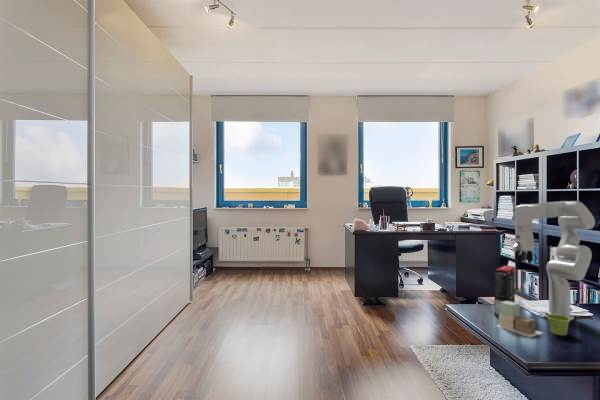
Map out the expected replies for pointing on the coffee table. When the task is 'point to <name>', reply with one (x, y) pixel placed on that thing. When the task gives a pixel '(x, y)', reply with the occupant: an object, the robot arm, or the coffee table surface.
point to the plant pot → (558, 324)
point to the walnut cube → (525, 325)
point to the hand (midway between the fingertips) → (524, 261)
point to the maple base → (507, 321)
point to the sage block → (509, 308)
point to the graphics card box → (504, 287)
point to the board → (523, 333)
